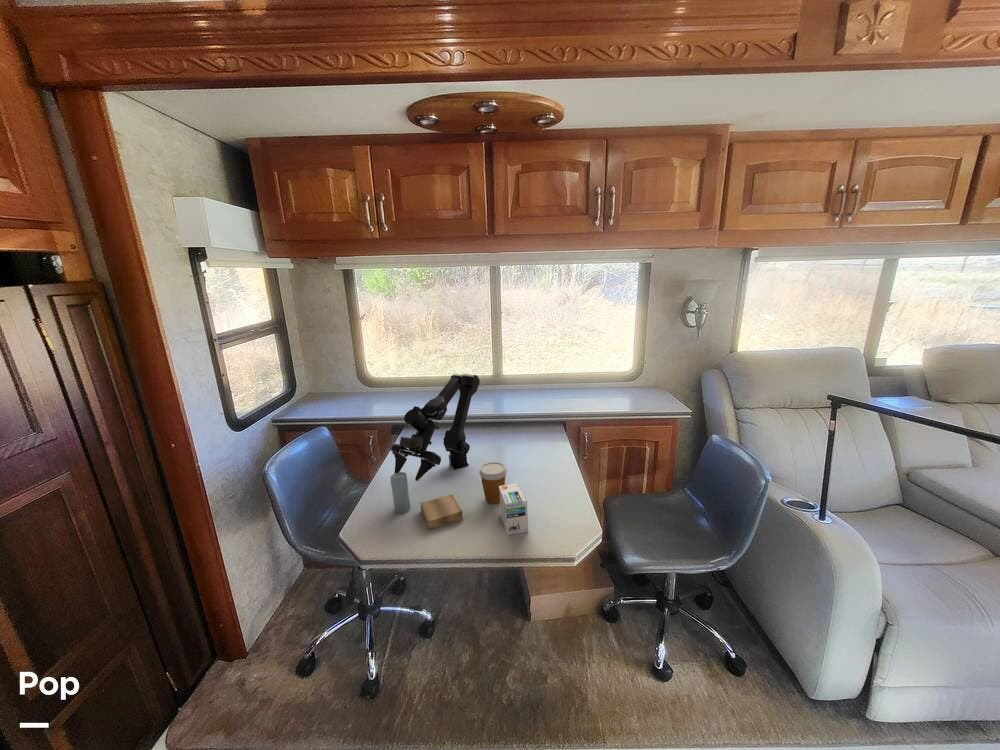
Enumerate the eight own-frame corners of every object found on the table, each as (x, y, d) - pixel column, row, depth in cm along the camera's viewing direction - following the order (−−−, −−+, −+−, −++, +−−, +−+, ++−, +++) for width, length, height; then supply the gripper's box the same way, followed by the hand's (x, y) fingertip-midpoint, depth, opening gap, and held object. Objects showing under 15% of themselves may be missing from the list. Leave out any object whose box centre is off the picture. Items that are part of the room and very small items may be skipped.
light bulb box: (528, 532, 112) (527, 500, 109) (507, 536, 111) (505, 504, 108) (519, 511, 122) (518, 482, 120) (499, 515, 121) (498, 485, 118)
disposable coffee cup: (477, 495, 132) (474, 465, 129) (501, 488, 136) (500, 459, 133) (486, 510, 124) (484, 477, 121) (512, 502, 127) (511, 470, 124)
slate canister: (408, 503, 130) (404, 470, 127) (411, 511, 125) (408, 477, 122) (393, 507, 128) (389, 474, 125) (396, 515, 123) (391, 481, 120)
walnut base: (452, 501, 129) (451, 494, 129) (463, 519, 120) (462, 511, 119) (421, 510, 125) (420, 502, 124) (429, 529, 115) (428, 521, 115)
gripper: (390, 422, 131) (370, 464, 125) (433, 430, 123) (413, 476, 116) (408, 435, 140) (390, 475, 133) (448, 443, 131) (432, 486, 125)
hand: (405, 477), depth 127 cm, fingers open, 9 cm apart
